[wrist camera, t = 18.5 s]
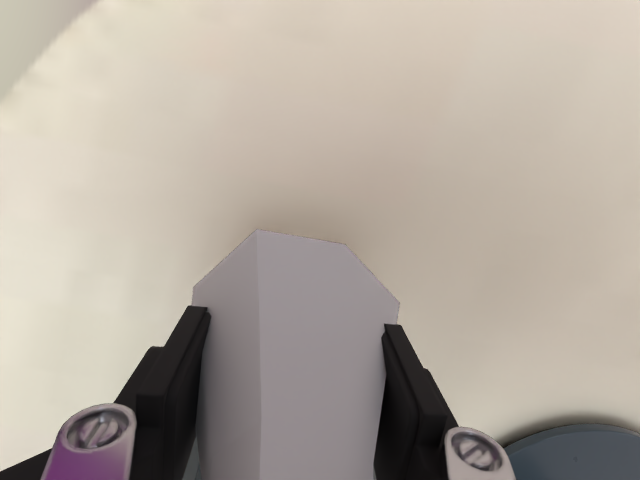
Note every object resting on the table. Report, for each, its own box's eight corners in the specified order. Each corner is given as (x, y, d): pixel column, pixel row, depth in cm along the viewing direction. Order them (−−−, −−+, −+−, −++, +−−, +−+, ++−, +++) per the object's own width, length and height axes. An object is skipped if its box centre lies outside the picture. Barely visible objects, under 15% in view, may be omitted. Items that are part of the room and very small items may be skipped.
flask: (152, 367, 14) (-187, 944, 4) (244, 188, 12) (42, 445, 2) (329, 440, 15) (388, 998, 5) (433, 289, 13) (778, 704, 4)
